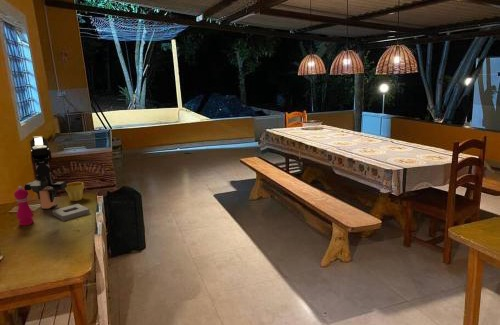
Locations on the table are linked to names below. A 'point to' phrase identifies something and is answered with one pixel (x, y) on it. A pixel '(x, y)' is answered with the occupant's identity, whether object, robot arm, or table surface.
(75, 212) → the socket block
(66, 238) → the table surface
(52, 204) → the keyed peg
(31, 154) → the robot arm
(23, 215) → the pink bowling pin
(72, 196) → the plant pot
